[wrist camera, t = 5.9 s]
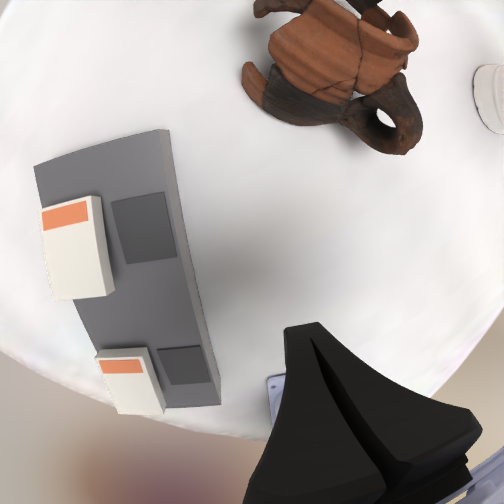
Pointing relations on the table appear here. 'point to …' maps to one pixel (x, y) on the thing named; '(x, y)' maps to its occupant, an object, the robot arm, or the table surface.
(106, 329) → the power strip
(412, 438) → the robot arm
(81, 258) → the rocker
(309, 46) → the pottery mug
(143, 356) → the block
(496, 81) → the water bottle
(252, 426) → the table surface
